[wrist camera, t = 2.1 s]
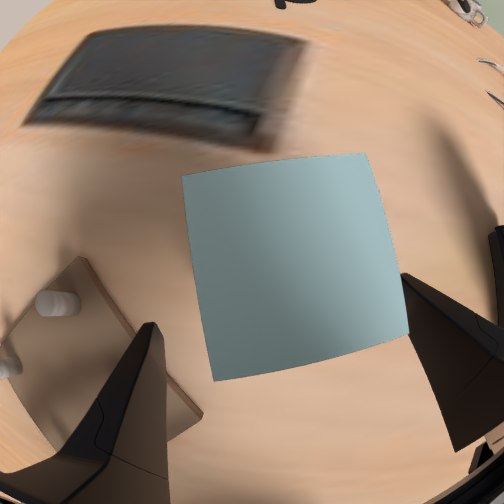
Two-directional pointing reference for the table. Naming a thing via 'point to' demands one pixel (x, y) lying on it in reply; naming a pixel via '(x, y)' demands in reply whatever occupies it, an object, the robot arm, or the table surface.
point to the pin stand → (74, 356)
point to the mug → (468, 11)
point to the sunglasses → (500, 69)
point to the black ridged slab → (498, 268)
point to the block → (291, 263)
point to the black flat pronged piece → (282, 5)
